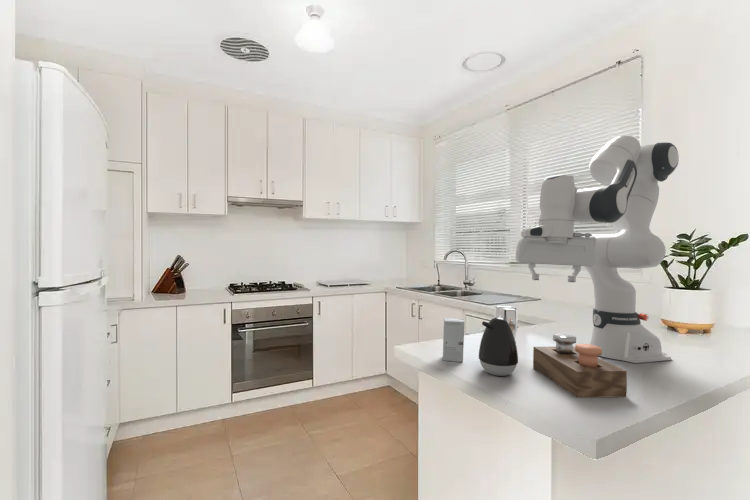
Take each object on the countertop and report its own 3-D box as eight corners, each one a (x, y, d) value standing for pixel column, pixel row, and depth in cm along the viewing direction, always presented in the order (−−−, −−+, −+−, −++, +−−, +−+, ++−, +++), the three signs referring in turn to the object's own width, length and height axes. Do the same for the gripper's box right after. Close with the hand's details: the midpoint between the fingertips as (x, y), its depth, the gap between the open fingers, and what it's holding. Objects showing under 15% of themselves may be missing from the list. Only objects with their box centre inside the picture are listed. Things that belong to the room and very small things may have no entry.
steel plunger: (567, 351, 101) (568, 333, 101) (580, 357, 95) (580, 339, 95) (548, 351, 100) (548, 333, 100) (560, 358, 95) (560, 339, 95)
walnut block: (573, 367, 103) (574, 346, 103) (626, 396, 83) (626, 371, 83) (533, 367, 102) (533, 346, 102) (576, 397, 83) (577, 371, 82)
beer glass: (518, 359, 110) (519, 310, 110) (495, 357, 112) (495, 309, 111) (514, 352, 117) (515, 306, 117) (492, 350, 118) (493, 305, 118)
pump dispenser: (470, 368, 101) (471, 315, 101) (500, 364, 105) (500, 312, 104) (494, 381, 91) (495, 322, 91) (526, 376, 95) (527, 319, 95)
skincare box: (442, 361, 107) (443, 320, 107) (442, 356, 112) (443, 317, 112) (464, 362, 107) (464, 321, 106) (462, 357, 111) (463, 318, 111)
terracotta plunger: (591, 363, 91) (591, 343, 91) (607, 371, 85) (607, 350, 85) (570, 363, 90) (570, 343, 90) (584, 371, 85) (584, 350, 85)
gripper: (591, 234, 102) (589, 282, 102) (515, 231, 105) (513, 278, 105) (601, 232, 96) (598, 284, 95) (520, 229, 99) (517, 279, 99)
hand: (553, 281), depth 100 cm, fingers open, 8 cm apart
